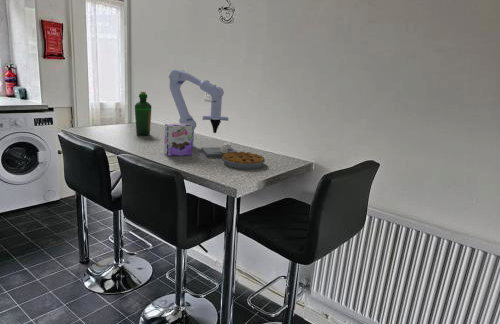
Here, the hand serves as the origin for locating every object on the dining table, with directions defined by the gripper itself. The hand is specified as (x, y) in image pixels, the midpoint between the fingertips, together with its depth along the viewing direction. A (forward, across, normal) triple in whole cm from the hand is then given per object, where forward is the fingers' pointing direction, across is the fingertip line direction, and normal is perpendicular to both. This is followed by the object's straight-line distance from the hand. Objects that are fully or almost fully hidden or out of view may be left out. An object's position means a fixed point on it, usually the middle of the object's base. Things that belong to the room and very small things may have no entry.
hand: (214, 132), depth 195 cm
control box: (+10, +2, -9) cm, 14 cm away
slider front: (+8, +3, -14) cm, 16 cm away
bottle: (+11, -38, +43) cm, 59 cm away
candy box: (+11, -21, -10) cm, 26 cm away
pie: (+11, +9, -30) cm, 33 cm away
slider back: (+8, +6, -5) cm, 11 cm away
